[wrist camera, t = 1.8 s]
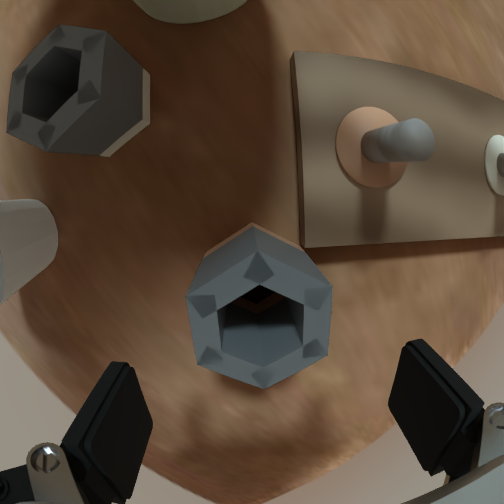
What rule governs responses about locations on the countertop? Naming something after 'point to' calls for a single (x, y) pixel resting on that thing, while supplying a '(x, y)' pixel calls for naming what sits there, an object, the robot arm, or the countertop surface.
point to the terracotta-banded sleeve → (259, 308)
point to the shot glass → (24, 243)
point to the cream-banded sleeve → (78, 94)
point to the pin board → (422, 183)
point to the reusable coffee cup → (187, 9)
